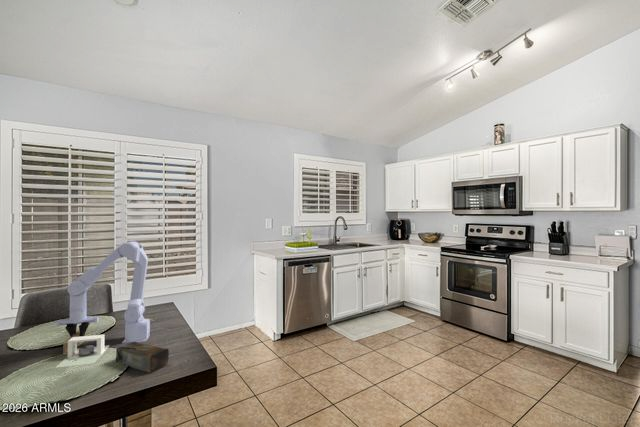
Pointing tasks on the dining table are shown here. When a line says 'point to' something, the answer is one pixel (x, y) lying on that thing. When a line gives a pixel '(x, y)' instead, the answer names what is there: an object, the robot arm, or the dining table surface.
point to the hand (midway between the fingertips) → (77, 340)
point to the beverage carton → (142, 356)
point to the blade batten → (65, 344)
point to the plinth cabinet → (73, 341)
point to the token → (86, 350)
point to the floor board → (82, 358)
